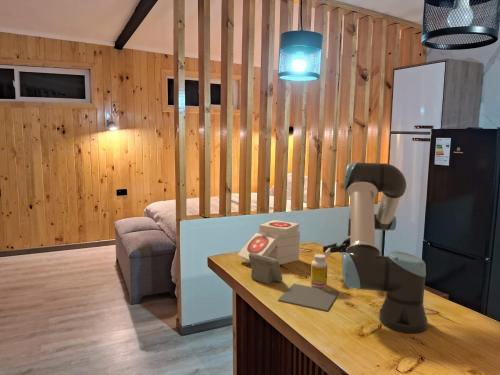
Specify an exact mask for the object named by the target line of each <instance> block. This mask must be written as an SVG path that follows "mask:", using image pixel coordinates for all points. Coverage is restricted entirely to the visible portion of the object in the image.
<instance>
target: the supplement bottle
mask: <svg viewBox="0 0 500 375" xmlns="http://www.w3.org/2000/svg"><path fill="white" fill-rule="evenodd" d="M325 257H326V256H325V254H322V253H321V254H320V253H316V254H314V256H313V258H314V259H313V260H312V261H311V268H310V270H311V271H310V285H311V287H314V288H320V289H324V288H326V286H327V283H328V263H327V261H326V258H325Z"/></svg>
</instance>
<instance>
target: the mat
mask: <svg viewBox="0 0 500 375" xmlns="http://www.w3.org/2000/svg"><path fill="white" fill-rule="evenodd" d="M339 294H340V292H339V291H335V290H328V289H325V288H317V287H314V286H308V285H302V284H297V283H293V284H292V285H291V286H290V287H288V289H286V290H285V292H284V293H283V294H281V296H280V297H279V298H278V299H277V301H278V302H283V303H286V304H291V305H296V306H301V307H305V308H311V309H315V310H319V311H324V312H328V311H329V309H330V308H331V306H333V303H334V302H335V300H336V299H337V297H338V295H339Z"/></svg>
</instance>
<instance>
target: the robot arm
mask: <svg viewBox="0 0 500 375" xmlns="http://www.w3.org/2000/svg"><path fill="white" fill-rule="evenodd" d="M406 189H407V180H406V177H405V175H404V173H403V172H402V171H401V170H400V169H399V168H397V167H396V166H394V165H393V164H389V163H377V162H375V163H373V162H350V163H348V164H347V165H346V169H345V173H344V180H343V190H344V191H346V194H348V196H349V197H350V209H349V212H348V224H347V226H348V227H347V228H348V229H347V237H346V238H345V239H344V241H342V243H341V244H338V243H337V242H335V243H332V244H328V245H325V246H322V247H323V248H322V252H323V253H324V255H325V256H326V257H325V259H327V258H329V256H330V255H331V254H333V253H341V270H342V274H341V275H342V280H343V284H344V285H345V287H347V288H351V289H357V290H359V291H360V290H364V291H377V292H385V298H384V300H383V302H382V306H381V308H380V309H379V313H378V314H379V315H378V320H379V322H380V323H381V324H383V326H385V327H387V328H389V329H391V330H393V331H397V332H399V333H405V334H419V333H422V332H425V331H426V330H427V328H428V317H427V315H426V311H425V306H424V297H425V296H424V295H425V286H426V285H425V284H426V276H427V274H426V273H427V269H426V265H427V264H426V263H425V261H424V260H423V259H422V258H420V257H418V256H416V255H414V254H411V253H408V252H403V251H396V250H395V251H389V253H388V254H387V256H386V255H385V256H384V255H381V250H380V249H379V248H378V247H377V246H376V233H375V232H376V231H375V230H377V231H378V230H379V231H387V232H388V231H395V230H396V227H397V217H396V215H395V214H396V212H397V208H398V205H399V202H400V200H401V197H403V196H404V194H405V192H406ZM378 193H381V196H380V200H379V204H378V208H377V212H376V213H375V199H374V198H375V197H376V196H377V195H378Z"/></svg>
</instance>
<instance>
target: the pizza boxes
mask: <svg viewBox="0 0 500 375" xmlns="http://www.w3.org/2000/svg"><path fill="white" fill-rule="evenodd" d="M300 238H301V231H300V223H298V222H297V223H296V222H290V221H283V220H277V219H272V220H270V221H267V222H264V223H261V224H259V228H258V232H255V233H254V234H253V235H252V237H251V238H250V239H249V240H248V242H247V243H246V244H245V245H244V246H243V247H242V248H241V250H240V251H239V252H238V253H237V256H238V257H239V258H240V259H241V260H243V261H246V262H248V263H250V260H249V254H250V253H255V254H259V255H262V256H266V257H270V258H273V259H277V260H278V261H279V265H280V266H281V265H283V264H287V263H293V262H296V261H299V260H300V245H301V244H300V241H301V240H300Z"/></svg>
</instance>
